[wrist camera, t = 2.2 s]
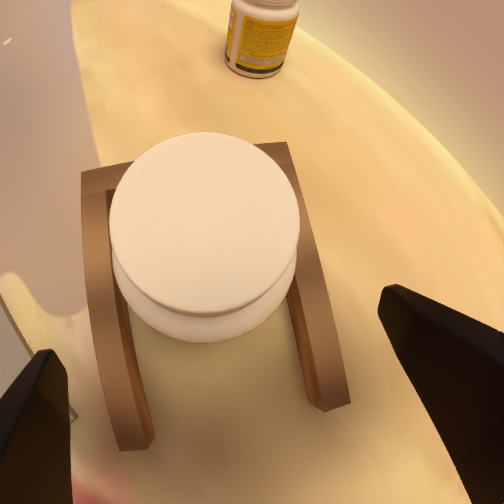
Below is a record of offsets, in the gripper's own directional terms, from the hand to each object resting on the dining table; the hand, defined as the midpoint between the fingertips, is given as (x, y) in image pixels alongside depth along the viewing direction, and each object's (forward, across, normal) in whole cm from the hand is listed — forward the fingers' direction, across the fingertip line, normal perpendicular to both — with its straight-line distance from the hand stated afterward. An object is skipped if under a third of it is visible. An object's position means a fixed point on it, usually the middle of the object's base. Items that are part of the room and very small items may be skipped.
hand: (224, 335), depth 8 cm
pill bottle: (+9, 0, +5) cm, 11 cm away
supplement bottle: (+21, -7, -7) cm, 23 cm away
